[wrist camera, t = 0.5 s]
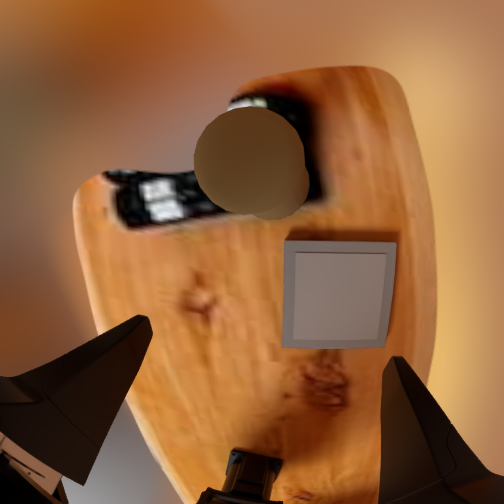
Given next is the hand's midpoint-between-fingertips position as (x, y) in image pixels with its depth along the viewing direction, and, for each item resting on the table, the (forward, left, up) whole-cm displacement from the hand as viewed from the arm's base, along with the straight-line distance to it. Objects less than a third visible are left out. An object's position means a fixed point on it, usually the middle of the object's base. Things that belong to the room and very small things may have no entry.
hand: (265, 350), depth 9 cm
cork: (+7, +3, -14) cm, 15 cm away
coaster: (-1, -4, -13) cm, 14 cm away
